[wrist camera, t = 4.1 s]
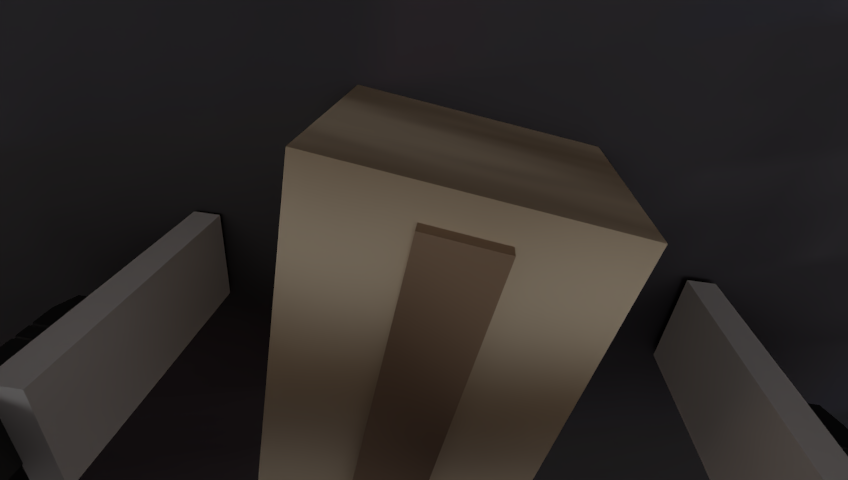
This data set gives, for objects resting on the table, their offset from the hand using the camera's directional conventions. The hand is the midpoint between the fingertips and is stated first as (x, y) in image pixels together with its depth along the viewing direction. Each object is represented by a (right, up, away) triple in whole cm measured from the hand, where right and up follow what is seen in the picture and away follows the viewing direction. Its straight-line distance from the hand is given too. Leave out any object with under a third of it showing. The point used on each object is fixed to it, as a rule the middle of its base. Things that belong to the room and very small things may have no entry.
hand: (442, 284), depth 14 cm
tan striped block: (0, 0, 0) cm, 1 cm away
